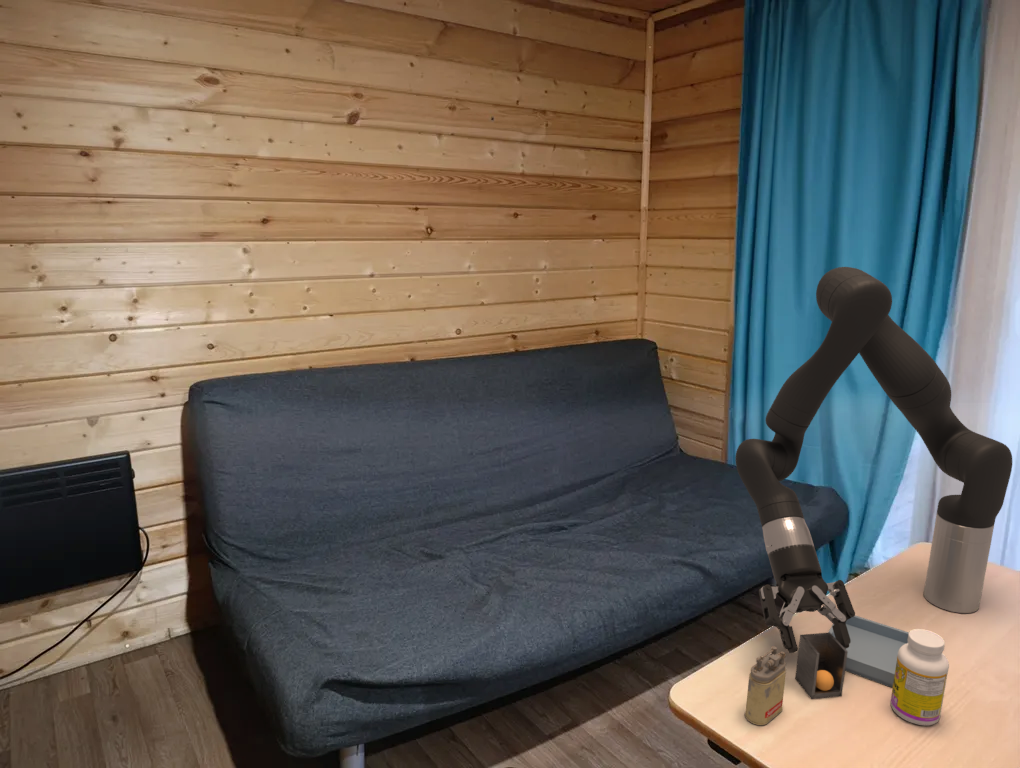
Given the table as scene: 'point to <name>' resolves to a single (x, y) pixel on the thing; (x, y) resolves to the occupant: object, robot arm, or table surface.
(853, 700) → the table surface
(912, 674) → the supplement bottle
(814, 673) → the open box
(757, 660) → the lighter
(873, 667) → the tray
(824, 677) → the ball
